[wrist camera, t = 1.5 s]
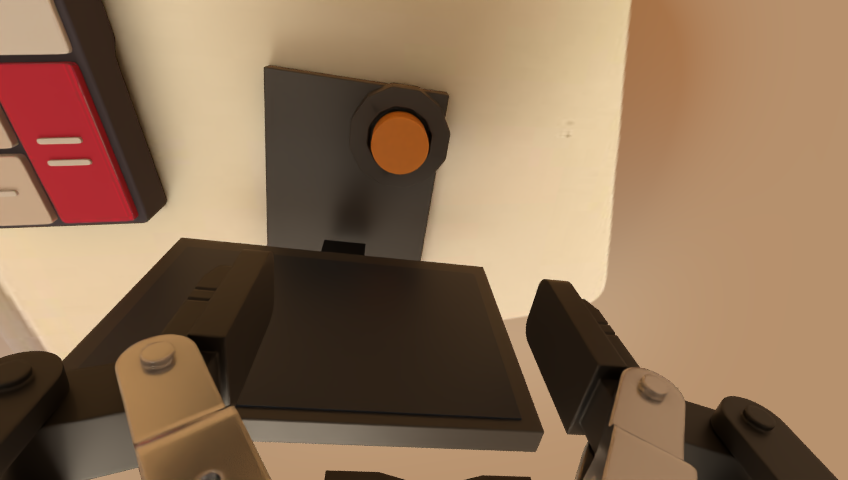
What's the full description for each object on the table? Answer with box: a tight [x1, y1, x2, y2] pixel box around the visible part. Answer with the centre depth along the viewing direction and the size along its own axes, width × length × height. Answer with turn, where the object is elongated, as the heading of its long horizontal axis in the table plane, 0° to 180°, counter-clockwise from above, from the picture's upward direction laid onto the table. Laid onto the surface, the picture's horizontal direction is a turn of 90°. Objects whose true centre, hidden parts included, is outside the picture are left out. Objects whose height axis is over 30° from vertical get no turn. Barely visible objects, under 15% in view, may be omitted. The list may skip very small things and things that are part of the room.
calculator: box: [0, 0, 167, 228], centre depth 26 cm, size 11×4×15 cm
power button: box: [371, 111, 429, 174], centre depth 27 cm, size 4×4×2 cm
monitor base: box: [264, 65, 450, 261], centre depth 30 cm, size 15×12×3 cm
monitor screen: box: [62, 238, 544, 452], centre depth 20 cm, size 2×18×12 cm, turn 81°
